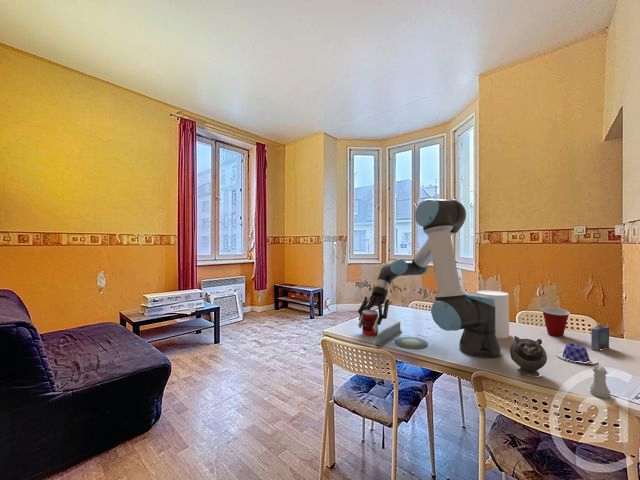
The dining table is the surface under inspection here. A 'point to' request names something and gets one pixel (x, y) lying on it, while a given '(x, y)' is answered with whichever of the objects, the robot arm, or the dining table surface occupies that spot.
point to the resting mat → (411, 342)
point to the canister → (499, 311)
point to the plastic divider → (388, 334)
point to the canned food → (369, 322)
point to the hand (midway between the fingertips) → (366, 328)
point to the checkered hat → (575, 353)
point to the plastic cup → (555, 320)
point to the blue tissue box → (599, 337)
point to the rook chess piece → (600, 383)
